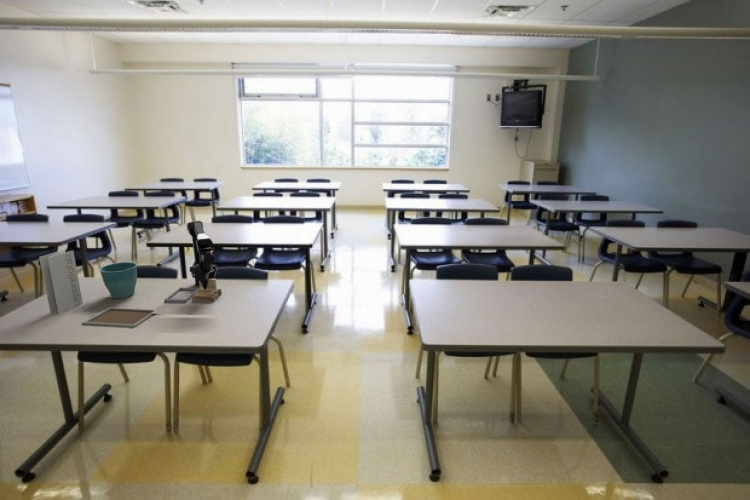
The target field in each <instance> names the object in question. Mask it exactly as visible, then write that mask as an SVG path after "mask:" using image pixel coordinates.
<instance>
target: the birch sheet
mask: <svg viewBox="0 0 750 500" xmlns="http://www.w3.org/2000/svg"><path fill="white" fill-rule="evenodd" d="M217 286H218V285H217V279H216V278H214V279H209V281H208V285H207V288H206V289H204V288H203V286H202V284H201V282H200V281H199V287H198V288H200V290H208V291H214V292H217V289H218V287H217Z"/></svg>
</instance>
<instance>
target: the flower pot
mask: <svg viewBox="0 0 750 500" xmlns="http://www.w3.org/2000/svg"><path fill="white" fill-rule="evenodd" d="M137 266H138V264H137V263H135V262H129V261H128V262H127V261H125V262H115V263H110V264H107V265H104V266H102V267H100V268H99V271H100V275H101V277H102V281H103V283H104V286H105V288H106V289H107V291H108V293H109V295H110V297H111V298H113V299H123V298H129V297H131V296H133V295H135V292H136V291H135V290H136V286H137V281H138V272H137V270H138V269H137Z"/></svg>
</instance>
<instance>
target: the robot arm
mask: <svg viewBox="0 0 750 500" xmlns="http://www.w3.org/2000/svg"><path fill="white" fill-rule="evenodd" d="M203 223H204V222H203V221H201V220H193V221H190V222H188V223H186V230H187V232H188V234H189V235H190V237H191V240H192V241H191V242H192V249H193V257H194V259H193V260H194V261H193V263H192V266H189V270H188V271H189V272H190V273H191V278H192V279H194V283H195V286H199V281H200V282H201V284H202V286H203V288H204V289H206V288H207V285H208V281H209V279H215V277H216V275H217V272H218V270H219V266H218V265H217V264H214V262H215V261H216V260H215V257H214V255H213V254H212V253H211V252H213V251H214V250H215V246H214V243H213V240H212V239H211V238H210V236H209V235H207V234H206V233H205V230H204V224H203Z"/></svg>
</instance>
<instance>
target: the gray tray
mask: <svg viewBox="0 0 750 500" xmlns="http://www.w3.org/2000/svg"><path fill="white" fill-rule="evenodd" d="M198 290H200V287H185V286H184V287H179V288H177V289H176V290H175V291H173V292H172V293H171V294H169V295H168V296H167V297H166V298H164V299H163V300H164V303H187V302H189V300H191V299H192V296H193V295H195V293H196V292H197V291H198ZM181 291H187V292H189V291H191V293H190V294H189V295H188V296H187V297H186V298H184V299H183V298H173V297H175V296H176V295H178V294H179V293H180V292H181Z"/></svg>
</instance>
